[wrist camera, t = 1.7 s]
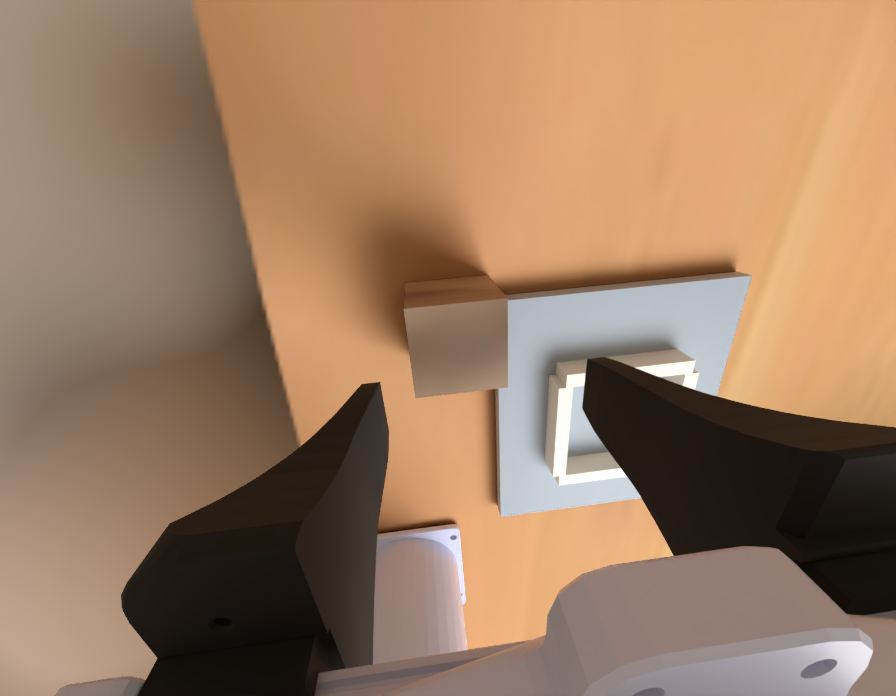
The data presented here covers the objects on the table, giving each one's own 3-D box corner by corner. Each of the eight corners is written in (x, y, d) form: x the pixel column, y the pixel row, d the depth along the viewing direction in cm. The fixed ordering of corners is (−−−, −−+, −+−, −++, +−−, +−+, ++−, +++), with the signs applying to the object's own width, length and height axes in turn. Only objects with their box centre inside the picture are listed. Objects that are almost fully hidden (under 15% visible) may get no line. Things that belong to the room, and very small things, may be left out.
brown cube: (489, 348, 21) (508, 387, 17) (414, 356, 20) (415, 397, 16) (487, 274, 19) (507, 298, 15) (405, 282, 19) (403, 308, 15)
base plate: (679, 481, 27) (704, 508, 24) (497, 505, 26) (505, 535, 24) (736, 271, 20) (778, 282, 18) (493, 296, 19) (504, 310, 17)
